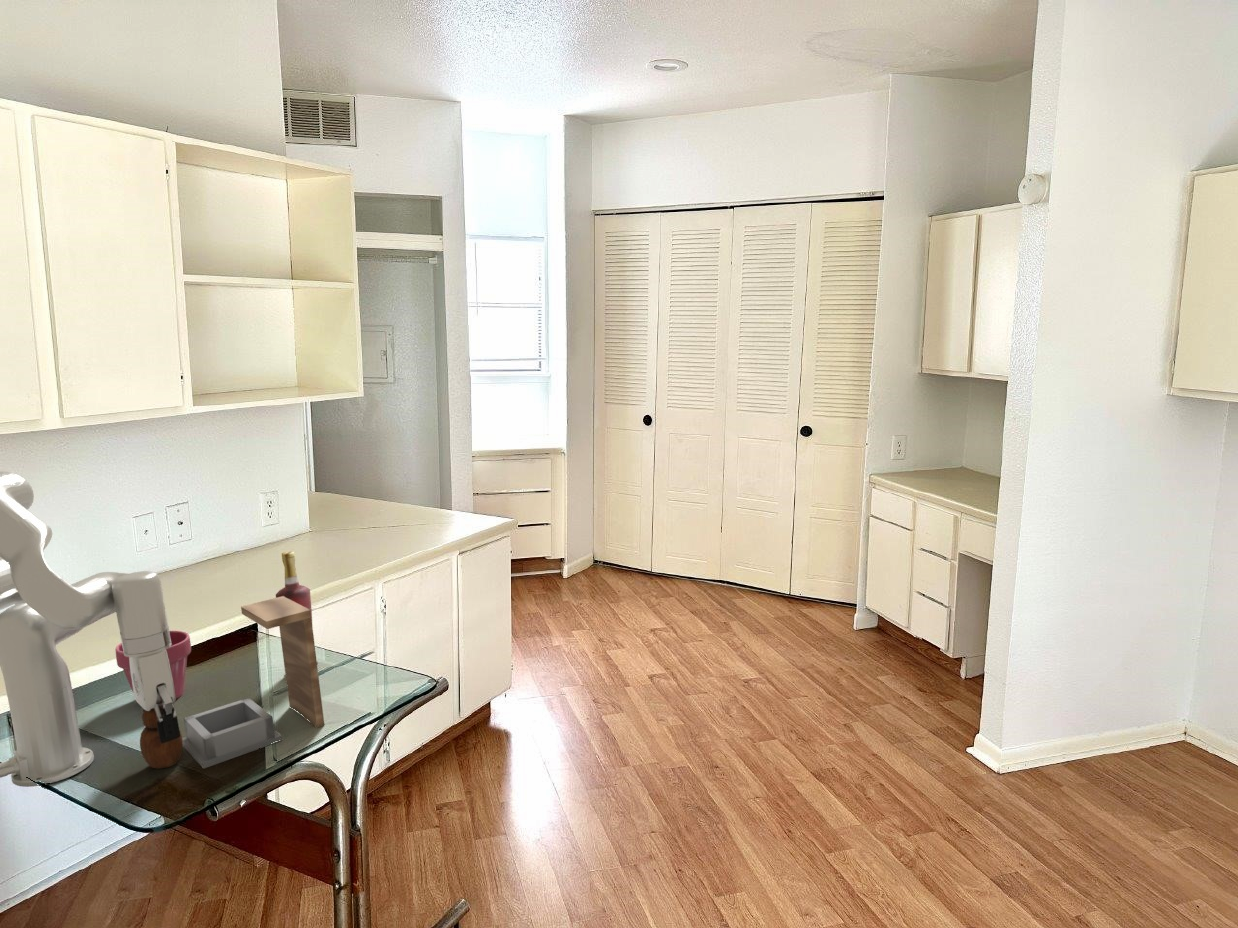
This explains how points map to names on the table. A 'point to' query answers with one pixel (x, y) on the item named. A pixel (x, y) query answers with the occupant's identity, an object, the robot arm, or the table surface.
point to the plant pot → (175, 655)
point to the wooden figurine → (158, 743)
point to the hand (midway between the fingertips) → (163, 731)
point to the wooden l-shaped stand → (294, 652)
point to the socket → (228, 732)
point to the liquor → (294, 584)
